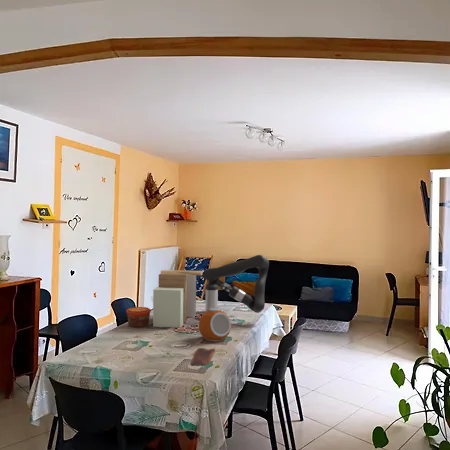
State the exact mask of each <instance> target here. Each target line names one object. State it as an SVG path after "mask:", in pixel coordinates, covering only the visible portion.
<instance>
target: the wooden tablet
mask: <svg viewBox="0 0 450 450" xmlns="http://www.w3.org/2000/svg"><path fill="white" fill-rule="evenodd" d="M215 352H216V349H215V348H210V349H207V348H204V347H198V348H197V349H196V351H195V352H194V354H193V356H192V360H191V361H190V366H196V367H205V366H208V365H209V364H210V363H211V361H212V358H213V356H214V354H215Z"/></svg>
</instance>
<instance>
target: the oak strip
mask: <svg viewBox="0 0 450 450" xmlns="http://www.w3.org/2000/svg"><path fill="white" fill-rule="evenodd" d="M160 274H161V275H196V276H203V271H202V270H176V269H175V270H174V269H173V270H171V269H161V270H160Z"/></svg>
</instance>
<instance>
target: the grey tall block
mask: <svg viewBox="0 0 450 450" xmlns="http://www.w3.org/2000/svg"><path fill="white" fill-rule="evenodd" d="M196 302H197V275H187V299H186V318H195V316H197V315H196V314H197V311H196V310H197V304H196Z"/></svg>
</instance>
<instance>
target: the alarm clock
mask: <svg viewBox="0 0 450 450" xmlns="http://www.w3.org/2000/svg"><path fill="white" fill-rule="evenodd" d="M198 329H199V333H200V335H201V336H202V337H203V339H204V340H206V341H210V342H220V341H224V340H225V339H226V338H227V337H228V336H229V335H230V332H231V329H232V322H231V319H230V317H229V315H228V314H227V313H226V312H224V311H223V310H221V309H220V308H211V309H210V310H209V311H207V312H204V313H203V314H202V315H201V317H200V319H199V322H198Z"/></svg>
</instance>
